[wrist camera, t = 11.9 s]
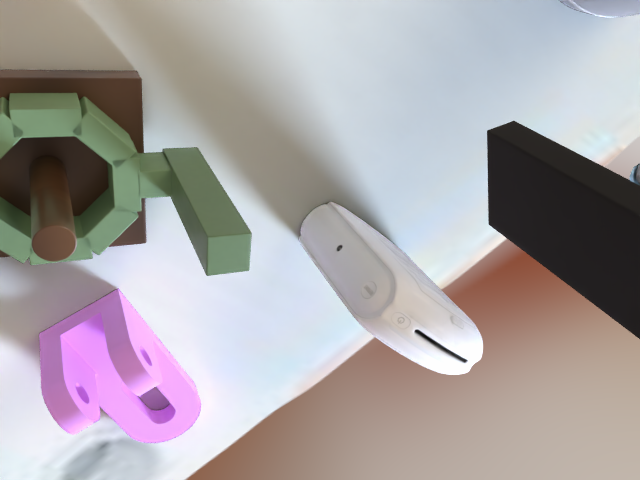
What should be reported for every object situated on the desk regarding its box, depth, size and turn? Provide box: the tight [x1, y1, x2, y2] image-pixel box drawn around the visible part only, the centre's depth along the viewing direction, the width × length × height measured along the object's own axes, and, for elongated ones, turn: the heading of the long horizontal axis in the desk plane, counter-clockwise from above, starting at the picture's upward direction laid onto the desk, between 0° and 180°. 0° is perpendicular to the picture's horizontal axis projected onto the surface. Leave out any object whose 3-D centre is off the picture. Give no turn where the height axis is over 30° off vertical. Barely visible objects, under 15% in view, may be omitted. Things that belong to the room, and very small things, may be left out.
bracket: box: [39, 289, 201, 443], centre depth 40 cm, size 13×6×7 cm, turn 21°
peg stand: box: [0, 70, 146, 262], centre depth 30 cm, size 10×10×10 cm
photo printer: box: [299, 202, 483, 375], centre depth 40 cm, size 10×4×12 cm, turn 45°
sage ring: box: [0, 93, 252, 276], centre depth 29 cm, size 12×8×10 cm
